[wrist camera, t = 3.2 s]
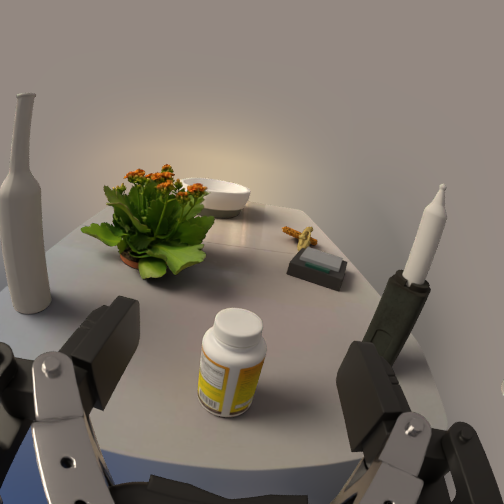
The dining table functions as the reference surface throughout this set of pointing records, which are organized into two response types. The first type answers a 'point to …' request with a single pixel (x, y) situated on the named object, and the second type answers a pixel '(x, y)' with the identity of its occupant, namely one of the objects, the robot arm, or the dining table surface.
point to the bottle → (23, 221)
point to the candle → (408, 286)
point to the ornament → (301, 237)
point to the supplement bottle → (231, 362)
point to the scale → (318, 268)
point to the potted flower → (155, 223)
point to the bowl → (220, 197)
